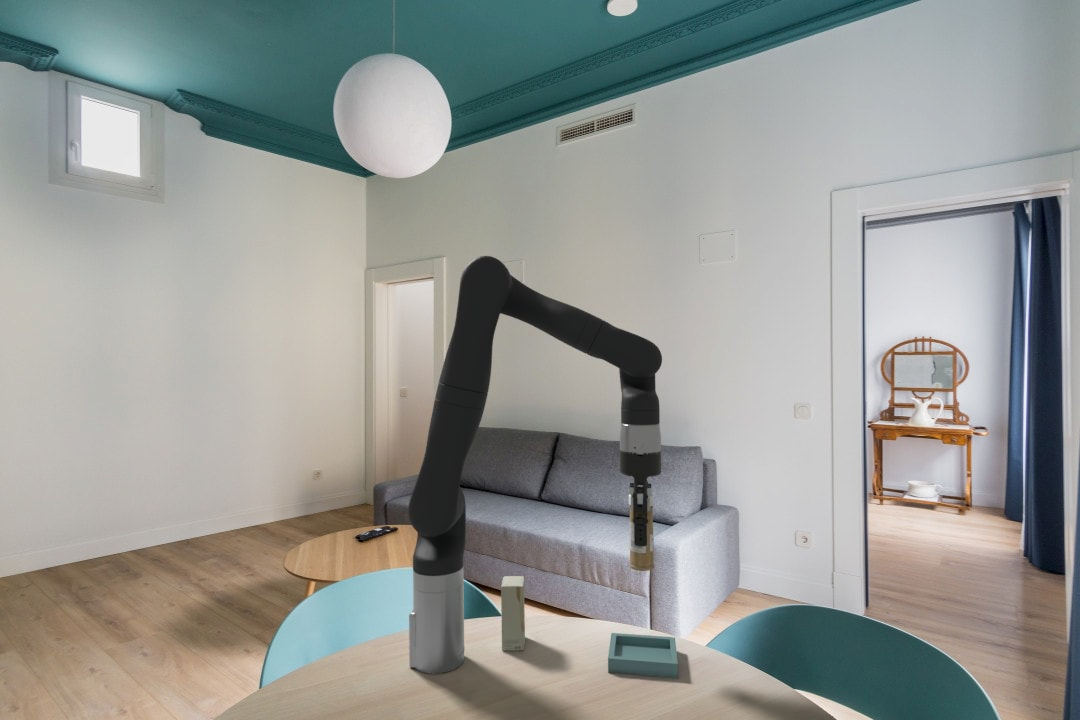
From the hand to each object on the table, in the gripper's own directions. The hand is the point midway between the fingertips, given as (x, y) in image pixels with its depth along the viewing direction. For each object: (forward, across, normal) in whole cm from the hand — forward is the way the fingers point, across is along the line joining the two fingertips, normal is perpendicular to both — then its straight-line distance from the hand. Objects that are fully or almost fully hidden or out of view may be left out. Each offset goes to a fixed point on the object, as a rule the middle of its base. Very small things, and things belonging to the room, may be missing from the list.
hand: (640, 541), depth 106 cm
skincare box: (+22, -3, -25) cm, 33 cm away
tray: (+22, 0, 0) cm, 22 cm away
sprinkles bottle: (+5, 0, 0) cm, 5 cm away
